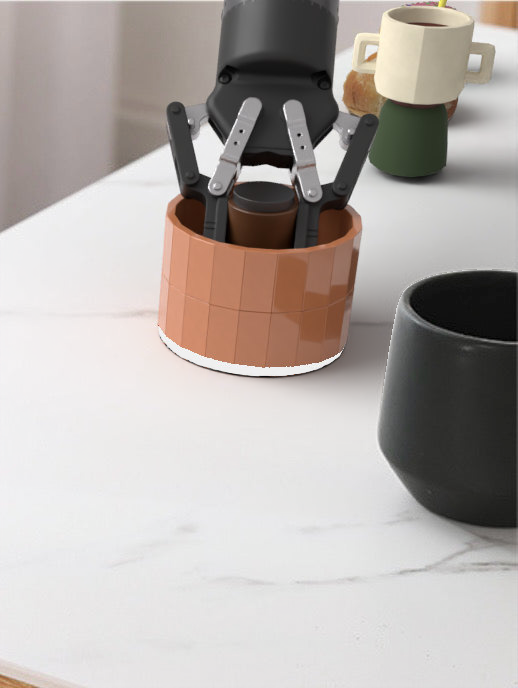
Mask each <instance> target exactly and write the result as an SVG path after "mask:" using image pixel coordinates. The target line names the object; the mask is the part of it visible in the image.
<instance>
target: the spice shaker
mask: <svg viewBox="0 0 518 688" xmlns="http://www.w3.org/2000/svg"><path fill="white" fill-rule="evenodd" d="M250 181H251V182H245V183H241V184H239V185H237V186H236V187H235V188H234V191H233V195H231V196H230V197H229V201H228V214H227V224H226V235H225V243H227V244H232V245H237V246H242V247H248V248H259V249H274V250H281V249H293V244H294V235H295V227H296V219H297V210H298V202H297V201H296V200H295V199H294V197H295V193H294V191H293V190H292V189H291V188H290V187H288V186H285V185H283V184H284V183H282V184H279V183H280V182H275V181H267V180H250Z"/></svg>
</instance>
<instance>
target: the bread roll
mask: <svg viewBox="0 0 518 688" xmlns="http://www.w3.org/2000/svg"><path fill="white" fill-rule="evenodd" d="M376 59H377V51H375V52H373V53H371V54H370V55H368V57H367V58H366V59H364V60H365V61H366V62H376ZM345 78H346V79H345V80H344V82H343V84H342V89H343V93H342V99H341V100H342V102H343V104H344V105H345V107H346V109H347V111H348V114H351V115H354V116H357V117H360V118H361V117H362V116H363V115H365V114H374V115H375V116H377V118H379V114H380V111H381V108H382V106H383V105H384V103H385V102H386V100H388V99H389V98H386V97H384V96H382V95H381V94H379V93H378V92H377V91H376V86H375V81H374V74H368V73H358V72H356V71H354V70H353V69H351V70H350V71H349V73H348V74H347V75H346V77H345ZM458 103H459V96H458V97H457V99H456V100H452V101H449V102H446V103H444V105H445V107H446V110H447V113H448V121H449V120H450V119H451V118H452V117H453V115H454V114H455V112H456V110H457V107H458V105H459V104H458Z"/></svg>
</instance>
